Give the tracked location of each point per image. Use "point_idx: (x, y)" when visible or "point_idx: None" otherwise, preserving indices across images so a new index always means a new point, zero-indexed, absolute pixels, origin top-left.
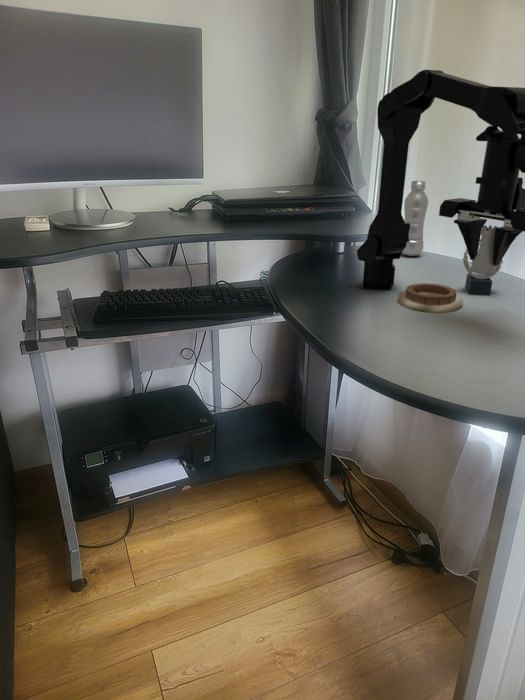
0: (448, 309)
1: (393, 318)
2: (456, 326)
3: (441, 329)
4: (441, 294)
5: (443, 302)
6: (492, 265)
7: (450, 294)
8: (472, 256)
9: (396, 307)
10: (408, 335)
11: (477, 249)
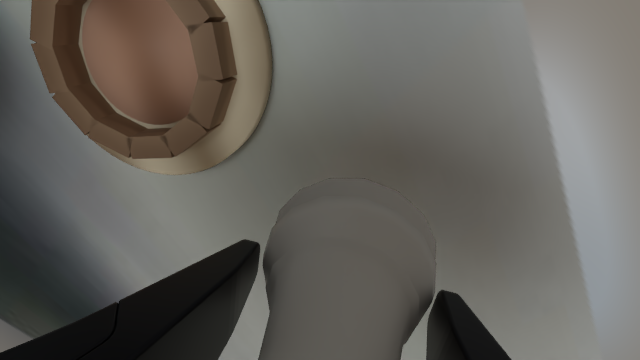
0: (260, 115)
1: None
2: None
3: None
4: None
5: (223, 108)
6: (421, 314)
7: (205, 56)
8: (246, 296)
9: (139, 182)
10: None
11: (226, 287)
